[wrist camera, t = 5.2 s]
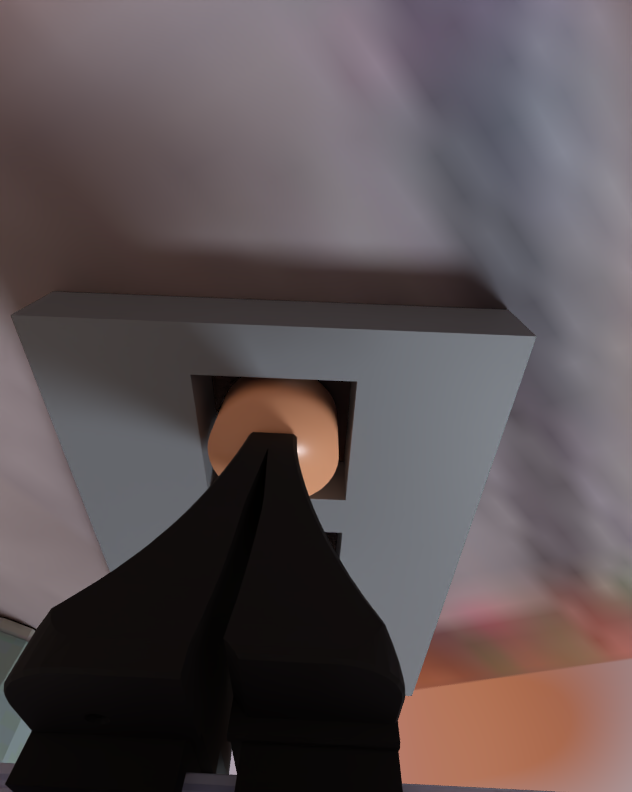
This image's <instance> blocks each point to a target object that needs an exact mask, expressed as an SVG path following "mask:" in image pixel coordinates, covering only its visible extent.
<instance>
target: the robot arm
mask: <svg viewBox="0 0 632 792" xmlns="http://www.w3.org/2000/svg"><path fill="white" fill-rule="evenodd" d="M4 695H5V697H6V699H7V701H8V703H9V704H10V706H11V707H12V708H13V709H14V710H15V712H16V713H17V714H18V715H19V716H20V717H21V719H22V720H23V721H24V722H25V723H26V725H27V726H28V727H29V728H30V729H31V733H30V735H29V737H28V739H27V741H26V743H25V745H24V747H23V749H22V751H21V753H20V755H19V757H18V759H17V761H16V763H0V792H552V791H534V790H514V789H496V788H476V787H457V786H439V785H420V784H402V781H401V771H400V762H399V753H398V750H399V749H400V737H399V728H398V718H399V715H400V712H401V709H402V706H403V703H404V700H405V683H404V678H403V674H402V670H401V666H400V663H399V660H398V657H397V654H396V651H395V648H394V645H393V643H392V640H391V638H390V635H389V633H388V630H387V628H386V625H385V623H384V622H383V621H382V619H381V618H380V617H379V615H378V614H377V613H376V612H375V610H374V609H373V608H372V606H371V605H370V604H369V602H368V601H367V600H366V598H365V597H364V596H363V594H362V593H361V591H360V590H359V588H358V587H357V585H356V584H355V583H354V581H353V580H352V578H351V577H350V575H349V573H348V572H347V570H346V569H345V567H344V565H343V564H342V562H341V560H340V559H339V557H338V555H337V554H336V552H335V550H334V549H333V547H332V545H331V543H330V541H329V539H328V537H327V536H326V534H325V532H324V529H323V527H322V525H321V523H320V521H319V519H318V517H317V514H316V512H315V510H314V507H313V505H312V502H311V500H310V497H309V494H308V491H307V488H306V485H305V482H304V479H303V475H302V472H301V468H300V464H299V459H298V453H297V437H296V436H295V435H294V434H287V433H264V432H252V433H251V434H250V435H249V436H248V437H247V439H246V441H245V442H244V444H243V445H242V446H241V448H240V449H239V451H238V452H237V454H236V455H235V456H234V458H233V459H232V460H231V462H230V463H229V464H228V465H227V467H226V468H225V469H224V470H223V472H222V473H221V474H220V475H219V477H218V478H217V479H216V480H215V481H214V482H213V484H212V485H211V486H210V487H209V488H208V489H207V490H206V491H205V492H204V493H203V495H202V496H201V497H200V498H199V499H198V500H197V501H196V502H195V503H194V504H193V505H192V506H191V507H190V508H189V509H188V510H187V511H186V512H185V513H184V514H183V515H182V516H181V517H180V518H179V519H178V520H176V521H175V522H174V523H173V524H172V525H171V526H170V527H169V528H168V529H166V530H165V531H164V532H163V533H162V534H160V535H159V536H158V537H157V538H156V539H154V540H153V541H152V542H151V543H150V544H148V545H147V546H146V547H145V548H143V549H142V550H141V551H139V552H138V553H137V554H135V555H134V556H133V557H131V558H130V559H128V560H127V561H126V562H124V563H123V564H121V565H120V566H119V567H117V568H116V569H114V570H113V571H112V572H110V573H109V574H107V575H106V576H104V577H103V578H101V579H100V580H98V581H97V582H95V583H93V584H92V585H90V586H88V587H87V588H85V589H83V590H82V591H80V592H78V593H77V594H75V595H73V596H72V597H70V598H69V599H67V600H65V601H64V602H62V603H60V604H58V605H57V606H55V607H53V608H52V609H51V610H50V611H49V613H48V614H47V616H46V617H45V618H44V620H43V621H42V623H41V624H40V625H39V627H38V628H37V629H36V631H35V632H34V634H33V636H32V637H31V639H30V640H29V642H28V644H27V645H26V647H25V649H24V650H23V652H22V654H21V655H20V657H19V659H18V660H17V662H16V664H15V665H14V667H13V669H12V670H11V672H10V674H9V675H8V677H7V679H6V680H5V682H4ZM232 751H233V756H234V761H235V766H236V771H237V775H229V768H230V760H231V752H232Z"/></svg>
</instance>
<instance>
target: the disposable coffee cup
mask: <svg viewBox="0 0 632 792" xmlns="http://www.w3.org/2000/svg"><path fill="white" fill-rule="evenodd" d="M34 632H35V630H33V629H32V628H29V627H26V626H24V625H21V624H18V623H16V622H13V621H10V620H8V619H5V618H0V763H16V761H17V759H18V757H19V755H20V753H21V751H22V749H23V747H24V745H25V743H26V741H27V739H28V737H29V735H30V733H31V729H30V728H29V727H28V726H27V725H26V723H25V722H24V721H23V720H22V719H21V717H20V716H19V715H18V714H17V713H16V712H15V710H14V709H13V708H12V707H11V706H10V704H9V703H8V701H7V699H6V697H5V695H4V682H5V680H6V679H7V677H8V675H9V674H10V672H11V670H12V669H13V667H14V665H15V664H16V662H17V660H18V659H19V657H20V655H21V654H22V652H23V650H24V649H25V647H26V645H27V644H28V642H29V640H30V639H31V637H32V636H33V634H34Z"/></svg>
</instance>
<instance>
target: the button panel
mask: <svg viewBox="0 0 632 792" xmlns="http://www.w3.org/2000/svg"><path fill="white" fill-rule="evenodd" d="M11 318H12V320H13V323H14V325H15V328H16V330H17V333H18V336H19V338H20V341H21V343H22V346H23V348H24V351H25V354H26V356H27V359H28V361H29V364H30V367H31V369H32V372H33V374H34V377H35V379H36V382H37V385H38V387H39V390H40V392H41V395H42V397H43V400H44V403H45V405H46V408H47V410H48V413H49V415H50V418H51V421H52V423H53V426H54V428H55V431H56V434H57V436H58V439H59V441H60V444H61V446H62V449H63V452H64V454H65V457H66V459H67V462H68V464H69V467H70V470H71V472H72V475H73V477H74V480H75V483H76V485H77V488H78V490H79V493H80V495H81V498H82V501H83V503H84V506H85V508H86V511H87V513H88V516H89V519H90V521H91V524H92V526H93V529H94V532H95V534H96V537H97V539H98V542H99V544H100V547H101V550H102V552H103V555H104V557H105V560H106V562H107V565H108V568H109V570H110V572H112V571H113V570H114V569H116V568H117V567H119V566H120V565H121V564H123V563H124V562H126V561H127V560H128V559H130V558H131V557H133V556H134V555H135V554H137V553H138V552H139V551H141V550H142V549H143V548H145V547H146V546H147V545H148V544H150V543H151V542H152V541H153V540H154V539H156V538H157V537H158V536H159V535H160V534H162V533H163V532H164V531H165V530H166V529H168V528H169V527H170V526H171V525H172V524H173V523H174V522H175V521H176V520H178V519H179V518H180V517H181V516H182V515H183V514H184V513H185V512H186V511H187V510H188V509H189V508H190V507H191V506H192V505H193V504H194V503H195V502H196V501H197V500H198V499H199V498H200V497H201V496H202V495H203V493H204V492H205V491H206V490H207V489H208V488H209V487H210V486H211V485H212V484H213V482H214V481H215V480H216V479H217V478H218V477H219V476H218V475H217V473H216V472H215V470H214V469H213V467H212V465H211V462H210V460H209V455H208V440H209V436H210V433H211V431H212V428H213V426H214V423H215V421H216V418H217V416H216V408H215V400H214V391H213V383H212V375H213V376H237V377H261V378H285V379H309V380H333V381H351V388H350V399H349V411H348V422H347V433H346V444H345V455H344V462H338V465H337V468H336V471H335V473H334V475H333V477H332V478H331V479H330V481H329V482H328V483H327V484H326V485H325V486H324V487H323V488H322V489H320V490H319V491H318V492H316V493H314V494H312V495H310V496H309V497H310V500H311V502H312V505H313V507H314V510H315V512H316V514H317V517H318V519H319V521H320V523H321V525H322V527H323V529H324V532H336V533H338V534H337V545H336V554H337V555H338V557H339V559H340V560H341V562H342V564H343V565H344V567H345V569H346V570H347V572H348V573H349V575H350V577H351V578H352V580H353V581H354V583H355V584H356V585H357V587H358V588H359V590H360V591H361V593H362V594H363V596H364V597H365V598H366V600H367V601H368V602H369V604H370V605H371V606H372V608H373V609H374V610H375V612H376V613H377V614H378V615H379V617H380V618H381V619H382V621H383V622H384V623H385V625H386V628H387V630H388V633H389V635H390V638H391V640H392V643H393V645H394V648H395V651H396V654H397V657H398V660H399V663H400V666H401V670H402V674H403V678H404V683H405V695H407V696H412V694H413V691H414V688H415V685H416V682H417V679H418V677H419V674H420V671H421V668H422V665H423V662H424V659H425V656H426V653H427V651H428V648H429V645H430V642H431V639H432V636H433V633H434V630H435V628H436V625H437V622H438V619H439V616H440V613H441V610H442V607H443V604H444V602H445V599H446V596H447V593H448V590H449V587H450V584H451V581H452V578H453V576H454V573H455V570H456V567H457V564H458V561H459V558H460V555H461V553H462V550H463V547H464V544H465V541H466V538H467V535H468V532H469V529H470V527H471V524H472V521H473V518H474V515H475V512H476V509H477V506H478V504H479V501H480V498H481V495H482V492H483V489H484V486H485V483H486V480H487V478H488V475H489V472H490V469H491V466H492V463H493V460H494V457H495V454H496V452H497V449H498V446H499V443H500V440H501V437H502V434H503V431H504V429H505V426H506V423H507V420H508V417H509V414H510V411H511V408H512V405H513V403H514V400H515V397H516V394H517V391H518V388H519V385H520V382H521V380H522V377H523V374H524V371H525V368H526V365H527V362H528V359H529V356H530V354H531V351H532V348H533V345H534V342H535V339H536V336H535V335H534V334H533V333H532V332H531V331H530V330H529V329H528V328H527V327H526V326H525V325H524V324H523V323H522V322H521V321H520V320H519V319H518V318H517V317H515V316H514V315H513V314H512V313H511V312H510V311H509V310H502V309H477V308H452V307H427V306H402V305H378V304H353V303H328V302H303V301H278V300H253V299H228V298H203V297H178V296H153V295H128V294H103V293H78V292H52V293H50V294H48V295H46V296H44V297H43V298H41V299H39V300H37V301H35V302H34V303H32V304H30V305H28V306H26V307H24V308H23V309H21V310H19V311H17V312H15V313H13V314H12V315H11Z"/></svg>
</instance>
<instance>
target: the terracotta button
mask: <svg viewBox="0 0 632 792" xmlns="http://www.w3.org/2000/svg"><path fill="white" fill-rule="evenodd" d="M252 432H264V433H287V434H294V435H295V436H296V437H297V453H298V459H299V464H300V468H301V472H302V475H303V479H304V482H305V485H306V488H307V491H308V494H309V496H310V495H312V494H314V493H316V492H318V491H319V490H320V489H322V488H323V487H324V486H325V485H326V484H327V483H328V482H329V481H330V479H331V478H332V477H333V475H334V473H335V471H336V468H337V465H338V460H339V449H338V414H337V408H336V405H335V402H334V400H333V398H332V396H331V395H330V393H329V392H328V390H327V389H326V388H325V387H324V386H323V385H322V384H321V383H320V382H318V381H317V380H309V379H285V378H261V377H241V378H240V379H239V380H237V381H236V382H235V383H234V384H233V385H232V386H231V388H230V389H229V391H228V392H227V394H226V396H225V399H224V401H223V404H222V406H221V408H220V411H219V413H218V416H217V418H216V421H215V423H214V426H213V428H212V431H211V433H210V436H209V440H208V455H209V460H210V462H211V465H212V467H213V469H214V470H215V472H216V473H217V475H218V476H219V475H220V474H221V473H222V472H223V470H224V469H225V468H226V467H227V465H228V464H229V463H230V462H231V460H232V459H233V458H234V456H235V455H236V454H237V452H238V451H239V449H240V448H241V446H242V445H243V444H244V442H245V441H246V439H247V437H248V436H249V435H250V434H251V433H252Z"/></svg>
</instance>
